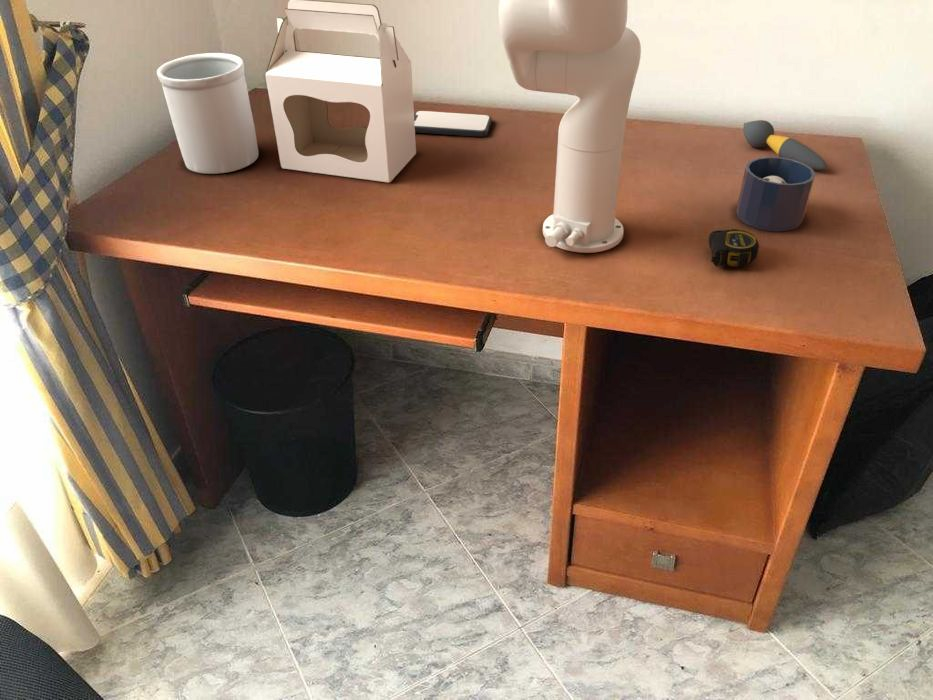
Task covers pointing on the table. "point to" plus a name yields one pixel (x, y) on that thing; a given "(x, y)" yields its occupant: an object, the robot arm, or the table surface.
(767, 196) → the cup
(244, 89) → the utensil holder
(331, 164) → the gable box
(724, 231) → the tape measure
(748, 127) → the paintbrush
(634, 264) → the table surface
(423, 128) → the phone case
